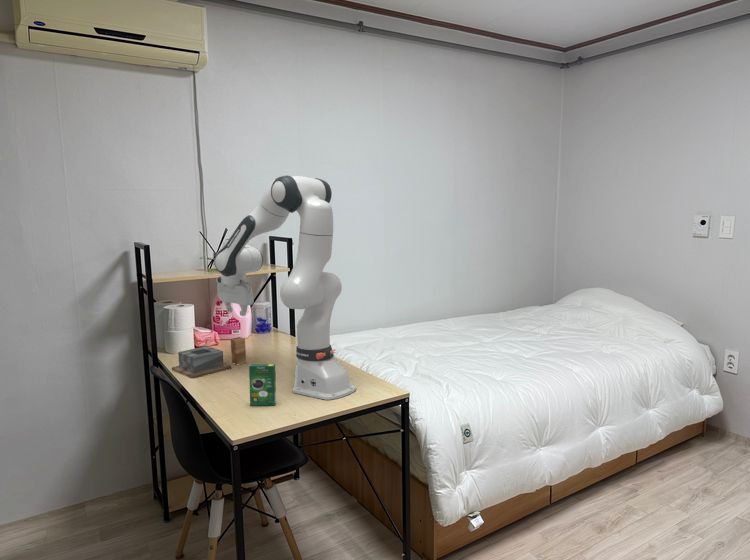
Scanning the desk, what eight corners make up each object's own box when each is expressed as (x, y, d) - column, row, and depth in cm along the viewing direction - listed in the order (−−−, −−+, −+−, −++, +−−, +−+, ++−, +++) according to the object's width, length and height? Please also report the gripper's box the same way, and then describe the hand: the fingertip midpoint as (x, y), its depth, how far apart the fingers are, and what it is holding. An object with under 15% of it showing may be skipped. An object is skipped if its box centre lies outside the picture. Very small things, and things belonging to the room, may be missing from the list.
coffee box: (277, 402, 165) (275, 362, 163) (275, 406, 162) (274, 365, 160) (252, 403, 165) (250, 362, 163) (249, 406, 162) (247, 365, 160)
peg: (246, 362, 208) (244, 338, 207) (237, 365, 205) (236, 340, 204) (240, 361, 211) (239, 337, 210) (231, 363, 208) (230, 338, 207)
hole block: (231, 368, 201) (230, 350, 200) (192, 378, 189) (191, 360, 188) (209, 360, 212) (208, 344, 211) (171, 369, 200) (170, 352, 199)
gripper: (256, 280, 199) (258, 316, 201) (227, 276, 213) (229, 309, 214) (242, 282, 194) (244, 318, 196) (213, 277, 208) (215, 311, 210)
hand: (236, 313), depth 205 cm, fingers open, 8 cm apart
